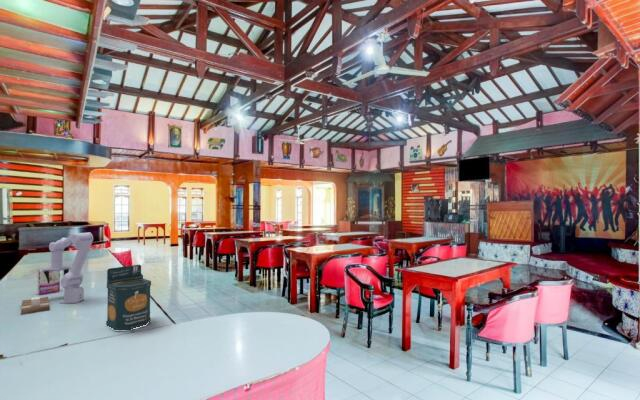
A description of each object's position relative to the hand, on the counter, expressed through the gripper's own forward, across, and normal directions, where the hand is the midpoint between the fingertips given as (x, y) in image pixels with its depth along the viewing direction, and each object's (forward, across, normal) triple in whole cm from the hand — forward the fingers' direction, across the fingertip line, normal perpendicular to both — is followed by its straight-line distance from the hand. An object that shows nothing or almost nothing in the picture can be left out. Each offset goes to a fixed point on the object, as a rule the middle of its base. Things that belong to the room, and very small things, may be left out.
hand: (56, 282), depth 212 cm
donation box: (+10, -26, +83) cm, 88 cm away
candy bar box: (+11, +3, -21) cm, 24 cm away
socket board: (+10, +10, +15) cm, 21 cm away
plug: (+10, +10, +21) cm, 25 cm away
